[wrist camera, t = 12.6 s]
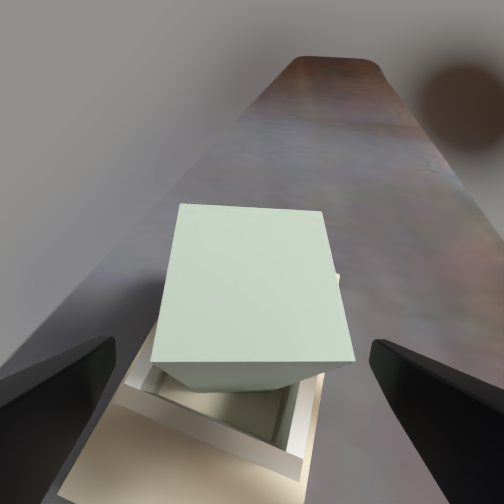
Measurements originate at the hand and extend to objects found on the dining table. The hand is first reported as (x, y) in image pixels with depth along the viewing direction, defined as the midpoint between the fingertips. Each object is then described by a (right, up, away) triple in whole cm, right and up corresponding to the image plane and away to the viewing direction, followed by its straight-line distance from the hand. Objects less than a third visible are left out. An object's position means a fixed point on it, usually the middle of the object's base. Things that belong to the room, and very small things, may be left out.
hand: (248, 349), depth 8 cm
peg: (-1, -4, +8) cm, 9 cm away
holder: (-1, -4, +9) cm, 10 cm away
